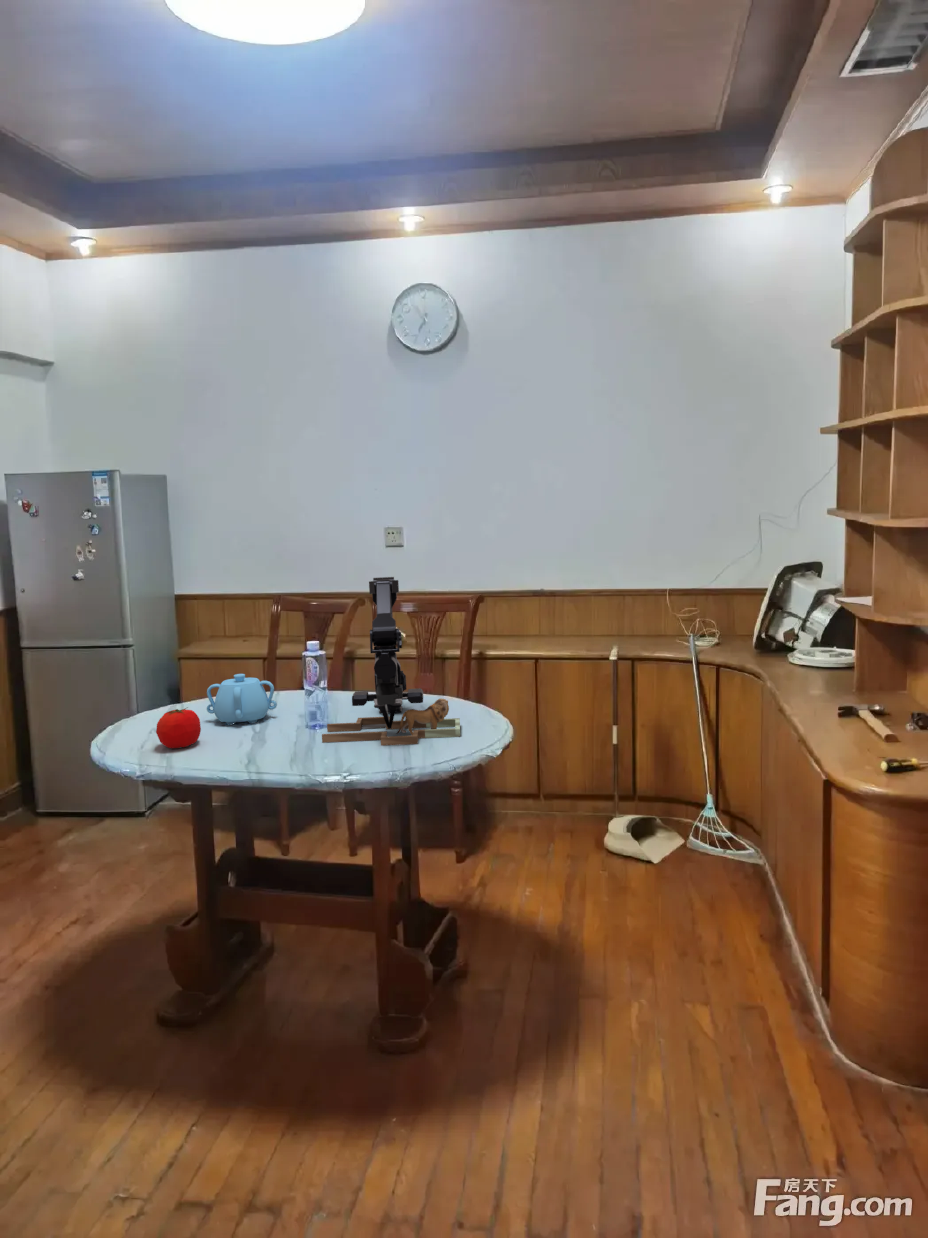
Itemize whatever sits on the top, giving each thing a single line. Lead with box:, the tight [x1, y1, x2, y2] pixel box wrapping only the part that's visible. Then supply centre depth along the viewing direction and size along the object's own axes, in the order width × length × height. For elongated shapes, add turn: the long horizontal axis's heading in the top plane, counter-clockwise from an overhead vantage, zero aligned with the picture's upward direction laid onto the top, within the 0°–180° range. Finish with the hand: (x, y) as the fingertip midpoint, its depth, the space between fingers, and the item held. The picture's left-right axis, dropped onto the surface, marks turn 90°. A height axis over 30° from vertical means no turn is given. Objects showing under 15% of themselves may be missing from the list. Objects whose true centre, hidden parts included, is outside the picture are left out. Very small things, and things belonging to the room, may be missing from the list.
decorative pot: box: [206, 673, 278, 725], centre depth 271 cm, size 16×16×14 cm
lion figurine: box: [395, 698, 450, 736], centre depth 249 cm, size 15×5×9 cm, turn 102°
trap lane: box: [321, 715, 461, 747], centre depth 250 cm, size 22×36×2 cm, turn 91°
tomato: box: [155, 706, 202, 749], centre depth 246 cm, size 11×13×10 cm
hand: (389, 728), depth 250 cm, fingers closed
